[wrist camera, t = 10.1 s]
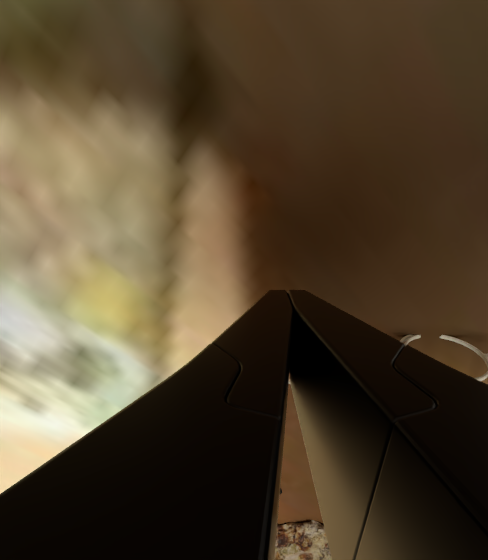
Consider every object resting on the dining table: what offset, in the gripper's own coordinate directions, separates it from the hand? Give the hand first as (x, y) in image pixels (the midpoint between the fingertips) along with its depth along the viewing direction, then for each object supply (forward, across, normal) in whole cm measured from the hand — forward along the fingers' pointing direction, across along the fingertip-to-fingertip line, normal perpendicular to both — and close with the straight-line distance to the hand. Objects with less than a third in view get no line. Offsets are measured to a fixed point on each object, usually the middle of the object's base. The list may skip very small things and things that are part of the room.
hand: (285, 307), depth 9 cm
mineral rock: (+14, +4, -38) cm, 41 cm away
